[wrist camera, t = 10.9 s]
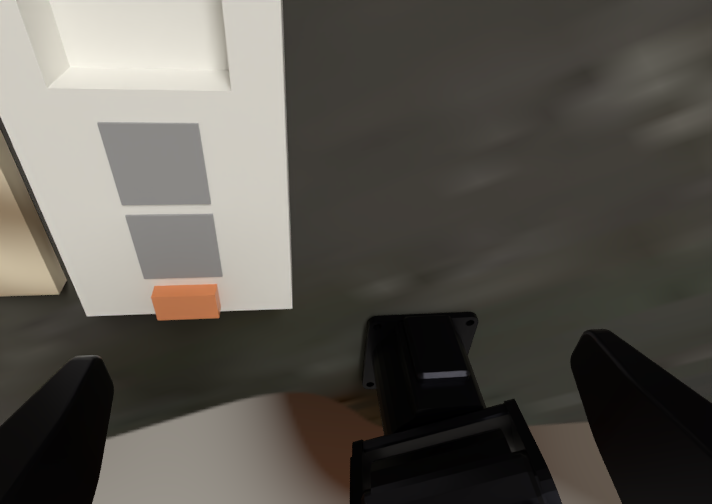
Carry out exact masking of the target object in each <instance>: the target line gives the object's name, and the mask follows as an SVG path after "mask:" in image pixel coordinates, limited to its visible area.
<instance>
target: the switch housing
mask: <svg viewBox="0 0 712 504" xmlns="http://www.w3.org/2000/svg"><path fill="white" fill-rule="evenodd" d="M0 116H1V119H2V121H3V123H4V126H5V128H6V130H7V133H8V135H9V137H10V140H11V142H12V144H13V146H14V149H15V151H16V153H17V156H18V158H19V160H20V163H21V165H22V167H23V170H24V172H25V174H26V176H27V179H28V181H29V183H30V186H31V188H32V190H33V193H34V195H35V197H36V200H37V202H38V204H39V206H40V209H41V211H42V213H43V216H44V218H45V220H46V223H47V225H48V227H49V230H50V232H51V234H52V236H53V239H54V241H55V243H56V246H57V248H58V250H59V253H60V255H61V257H62V260H63V262H64V264H65V267H66V269H67V271H68V273H69V276H70V278H71V280H72V283H73V285H74V287H75V290H76V292H77V294H78V297H79V299H80V301H81V303H82V306H83V308H84V310H85V313H86V315H87V316H110V315H136V314H156V316H157V320H183V319H208V318H219V316H220V311H242V310H268V309H292V253H291V225H290V196H289V168H288V140H287V111H286V83H285V54H284V26H283V0H0Z"/></svg>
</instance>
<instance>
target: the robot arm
mask: <svg viewBox="0 0 712 504" xmlns="http://www.w3.org/2000/svg"><path fill="white" fill-rule="evenodd" d="M376 324H378V325H376ZM477 325H478V318H477V316H476V314H475V313H473V312H462V313H437V314H412V315H388V316H374V317H372V318H370V319H369V321H368V328H367V337H366V346H365V355H364V364H363V373H362V385H363V387H364V388H365V389H377V395H378V401H379V407H380V413H381V419H382V425H383V431H384V436H381V437H377V438H373V439H370V440H366V441H363V440H359V441H355V442H353V445H352V457H351V458H350V504H562V502H561V499H560V497H559V494H558V491H557V489H556V486H555V484H554V481H553V479H552V476H551V474H550V471H549V469H548V467H547V465H546V463H545V460H544V458H543V456H542V454H541V452H540V450H539V448H538V446H537V444H536V442H535V440H534V438H533V436H532V434H531V432H530V430H529V428H528V426H527V424H526V422H525V420H524V418H523V415H522V413H521V411H520V409H519V407H518V405H517V403H516V401H515V399H511V400H507V401H504V403H503V404H500V405H496V406H492V407H488V408H486V405H485V403H484V400H483V397H482V394H481V392H480V389H479V386H478V383H477V381H476V378H475V375H474V372H473V370H472V367H471V364H470V361H469V359H468V353H469V350H470V347H471V343H472V340H473V337H474V334H475V331H476V328H477ZM570 363H571V369H572V372H573V375H574V378H575V381H576V385H577V388H578V391H579V394H580V397H581V400H582V403H583V406H584V409H585V413H586V416H587V419H588V422H589V425H590V428H591V431H592V434H593V437H594V439H595V442H596V444H597V447H598V449H599V452H600V454H601V456H602V458H603V461H604V463H605V465H606V467H607V470H608V472H609V474H610V477H611V479H612V481H613V484H614V486H615V488H616V490H617V493H618V495H619V497H620V500H621V502H622V504H712V403H711V402H709V401H708V400H706V399H705V398H704V397H702V396H701V395H699V394H698V393H697V392H695V391H694V390H692V389H691V388H690V387H688V386H687V385H685V384H684V383H683V382H681V381H680V380H678V379H677V378H676V377H674V376H673V375H671V374H670V373H669V372H667V371H666V370H664V369H663V368H662V367H660V366H659V365H657V364H656V363H655V362H653V361H652V360H650V359H649V358H647V357H646V356H645V355H643V354H642V353H641V352H639V351H638V350H636V349H635V348H634V347H632V346H631V345H629V344H628V343H627V342H625V341H624V340H622V339H621V338H619V337H618V336H617V335H615V334H614V333H612V332H611V331H609V330H606V329H594V330H587V331H585V332H584V333H583V334H582V336H581V338H580V340H579V342H578V344H577V346H576V347H575V349H574V351H573V353H572V355H571V361H570ZM113 395H114V386H113V382H112V380H111V377H110V375H109V373H108V371H107V369H106V366H105V364H104V362H103V360H102V358H101V357H100V356H98V355H86V356H75V357H73V358H71V359H70V360H69V361H68V362H67V363H66V364H65V365H63V366H62V367H61V368H60V369H59V370H58V371H57V372H56V373H55V374H54V375H53V376H52V377H51V378H50V379H49V380H48V381H47V382H46V383H45V384H44V385H43V386H42V387H41V388H40V389H39V390H38V391H37V392H35V393H34V394H33V395H32V396H31V397H30V398H29V399H28V400H27V401H26V402H25V403H24V404H23V405H22V406H21V407H20V408H19V409H18V410H17V411H16V412H15V413H14V414H13V415H12V416H11V417H10V418H8V419H7V420H6V421H5V422H4V423H3V424H2V425H1V426H0V504H92V502H93V498H94V495H95V491H96V487H97V484H98V480H99V475H100V470H101V465H102V459H103V453H104V447H105V442H106V436H107V430H108V424H109V419H110V413H111V407H112V401H113Z"/></svg>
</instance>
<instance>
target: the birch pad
mask: <svg viewBox="0 0 712 504" xmlns="http://www.w3.org/2000/svg"><path fill="white" fill-rule="evenodd" d="M66 281H67V279H66V277H65V275H64V272H63V270H62V268H61V266H60V263H59V261H58V259H57V256H56V254H55V252H54V250H53V247H52V245H51V243H50V241H49V238H48V236H47V234H46V232H45V229H44V227H43V225H42V222H41V220H40V218H39V216H38V213H37V211H36V209H35V207H34V204H33V202H32V200H31V198H30V195H29V193H28V191H27V188H26V186H25V184H24V182H23V179H22V177H21V175H20V173H19V170H18V168H17V166H16V164H15V161H14V159H13V157H12V154H11V152H10V150H9V148H8V145H7V143H6V141H5V139H4V136H3V134H2V132H1V130H0V296H25V295H56V294H60V292H61V290H62V289H63V287H64V285H65V283H66Z"/></svg>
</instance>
